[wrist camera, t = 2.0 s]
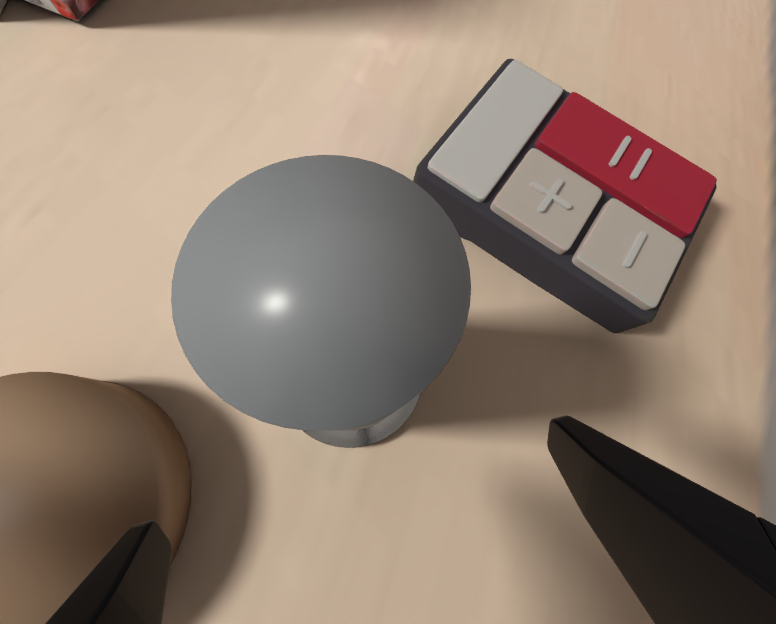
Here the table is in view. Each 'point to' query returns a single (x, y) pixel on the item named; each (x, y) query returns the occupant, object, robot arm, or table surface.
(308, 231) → the grey cylinder
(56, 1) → the snack box
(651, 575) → the robot arm
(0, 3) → the coffee box
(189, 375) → the table surface
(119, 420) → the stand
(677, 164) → the calculator
